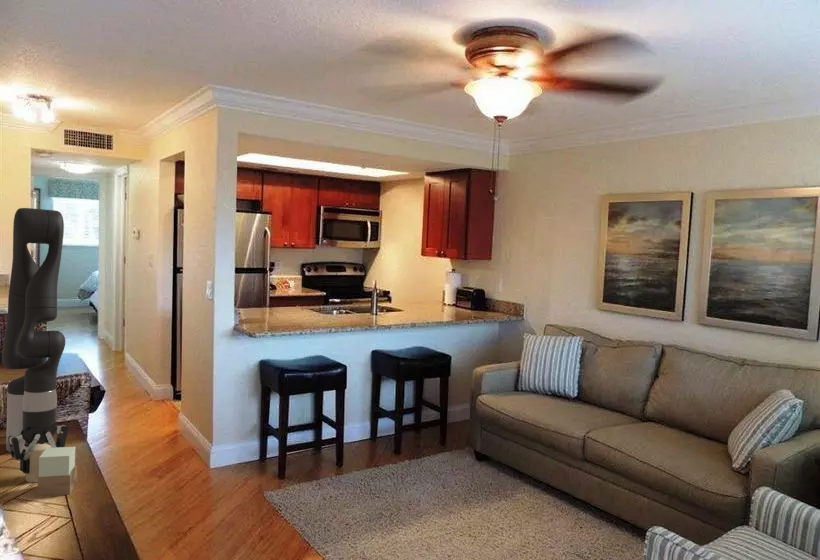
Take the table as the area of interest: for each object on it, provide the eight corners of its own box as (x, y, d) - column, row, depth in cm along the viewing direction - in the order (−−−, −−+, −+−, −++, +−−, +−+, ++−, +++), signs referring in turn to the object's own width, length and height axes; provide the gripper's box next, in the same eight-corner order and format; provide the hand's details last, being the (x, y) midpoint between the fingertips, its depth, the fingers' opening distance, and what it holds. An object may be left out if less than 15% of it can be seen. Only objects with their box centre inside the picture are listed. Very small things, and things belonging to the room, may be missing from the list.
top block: (46, 467, 147) (46, 448, 146) (74, 465, 149) (75, 446, 149) (38, 477, 141) (39, 457, 140) (68, 475, 143) (69, 455, 142)
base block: (45, 485, 147) (46, 466, 147) (76, 483, 150) (76, 464, 149) (37, 497, 141) (38, 477, 140) (69, 495, 143) (70, 475, 143)
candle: (38, 483, 148) (39, 446, 147) (20, 480, 149) (21, 443, 148) (55, 475, 153) (56, 439, 152) (38, 472, 154) (39, 436, 153)
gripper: (61, 398, 158) (59, 458, 159) (2, 409, 146) (0, 473, 147) (75, 403, 154) (73, 465, 155) (16, 415, 142) (14, 481, 143)
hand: (38, 469), depth 151 cm, fingers closed on candle, 5 cm apart
